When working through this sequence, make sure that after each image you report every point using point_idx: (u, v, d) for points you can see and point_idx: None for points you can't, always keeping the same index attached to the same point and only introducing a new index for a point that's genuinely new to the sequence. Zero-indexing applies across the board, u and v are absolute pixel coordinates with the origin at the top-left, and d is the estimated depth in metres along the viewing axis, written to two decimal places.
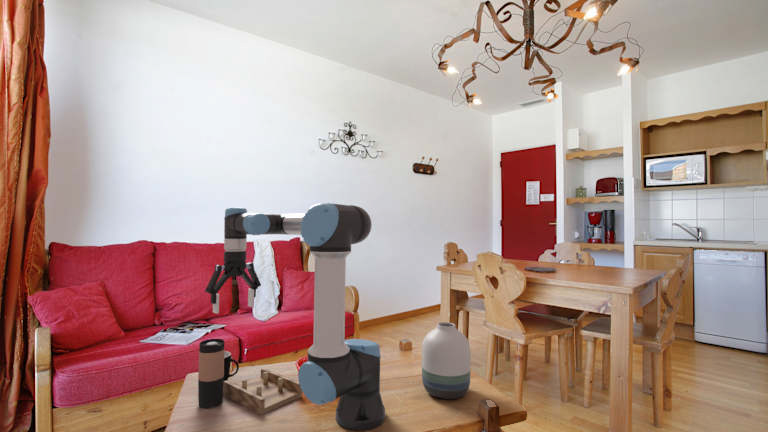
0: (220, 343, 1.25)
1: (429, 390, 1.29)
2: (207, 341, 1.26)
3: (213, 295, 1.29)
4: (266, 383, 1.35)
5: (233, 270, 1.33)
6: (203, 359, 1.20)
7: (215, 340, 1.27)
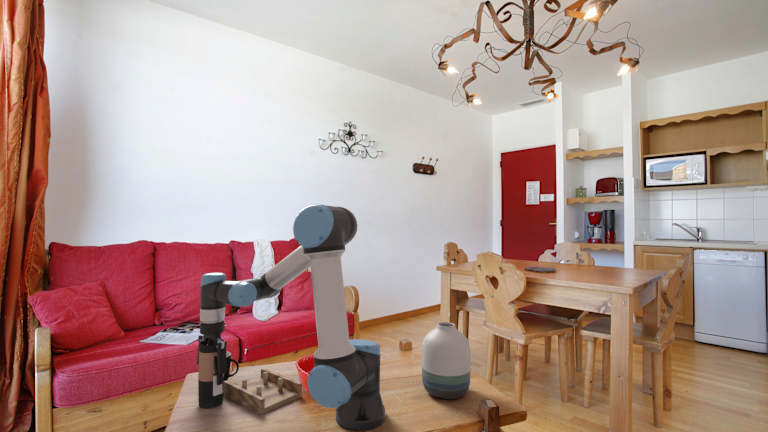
0: None
1: (429, 390, 1.29)
2: None
3: None
4: (266, 383, 1.35)
5: (204, 342, 1.23)
6: (203, 359, 1.20)
7: None
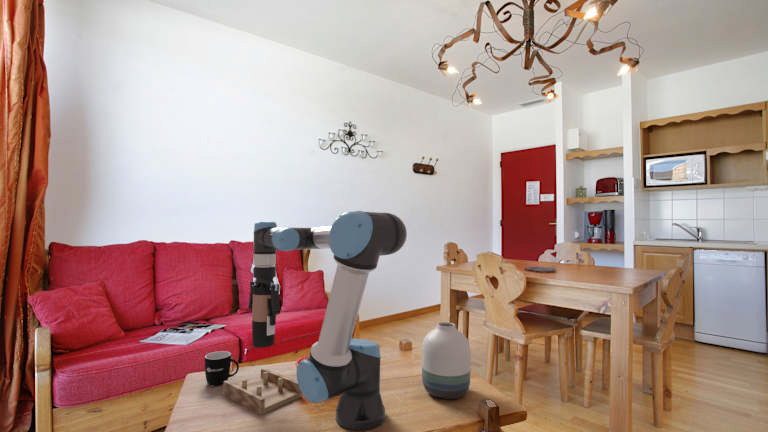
0: None
1: (429, 390, 1.29)
2: None
3: None
4: (266, 383, 1.35)
5: (256, 286, 1.30)
6: (257, 300, 1.27)
7: None
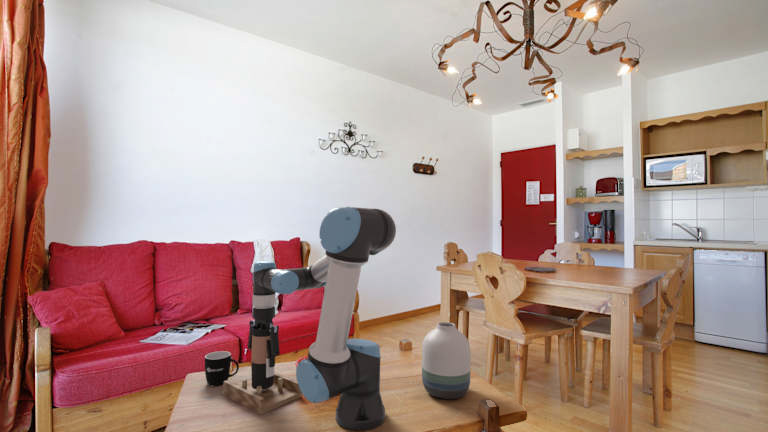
0: None
1: (429, 390, 1.29)
2: None
3: None
4: None
5: (256, 327, 1.29)
6: (256, 342, 1.26)
7: None
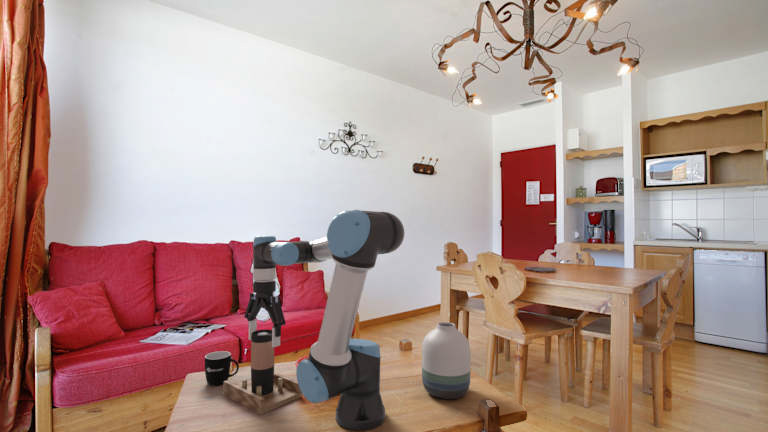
0: (270, 333, 1.31)
1: (429, 390, 1.29)
2: (257, 332, 1.32)
3: (248, 321, 1.34)
4: None
5: (256, 300, 1.30)
6: (256, 348, 1.26)
7: (264, 331, 1.33)
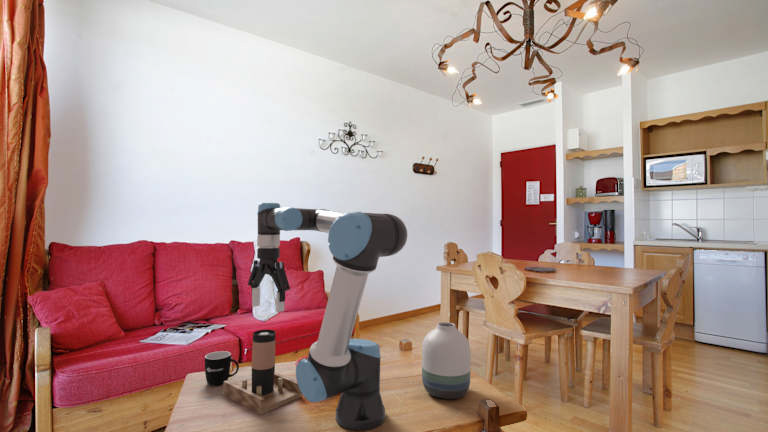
0: (271, 334, 1.31)
1: (429, 390, 1.29)
2: (259, 332, 1.32)
3: (252, 288, 1.35)
4: None
5: (260, 267, 1.30)
6: (257, 348, 1.26)
7: (266, 331, 1.33)
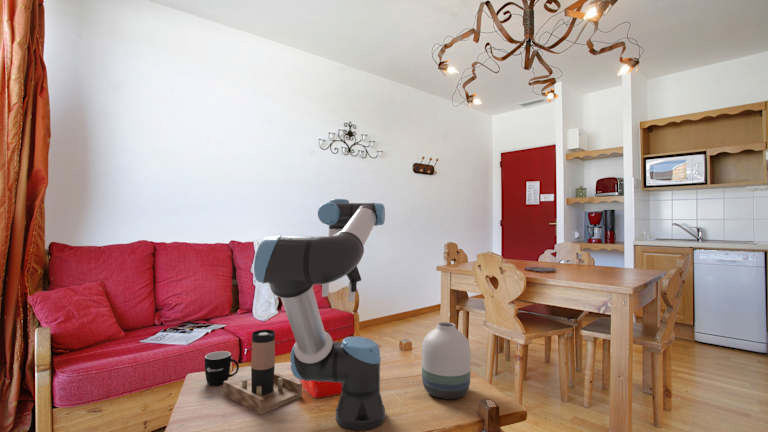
0: (271, 334, 1.31)
1: (429, 390, 1.29)
2: (258, 332, 1.32)
3: None
4: None
5: None
6: (256, 348, 1.26)
7: (265, 331, 1.33)
